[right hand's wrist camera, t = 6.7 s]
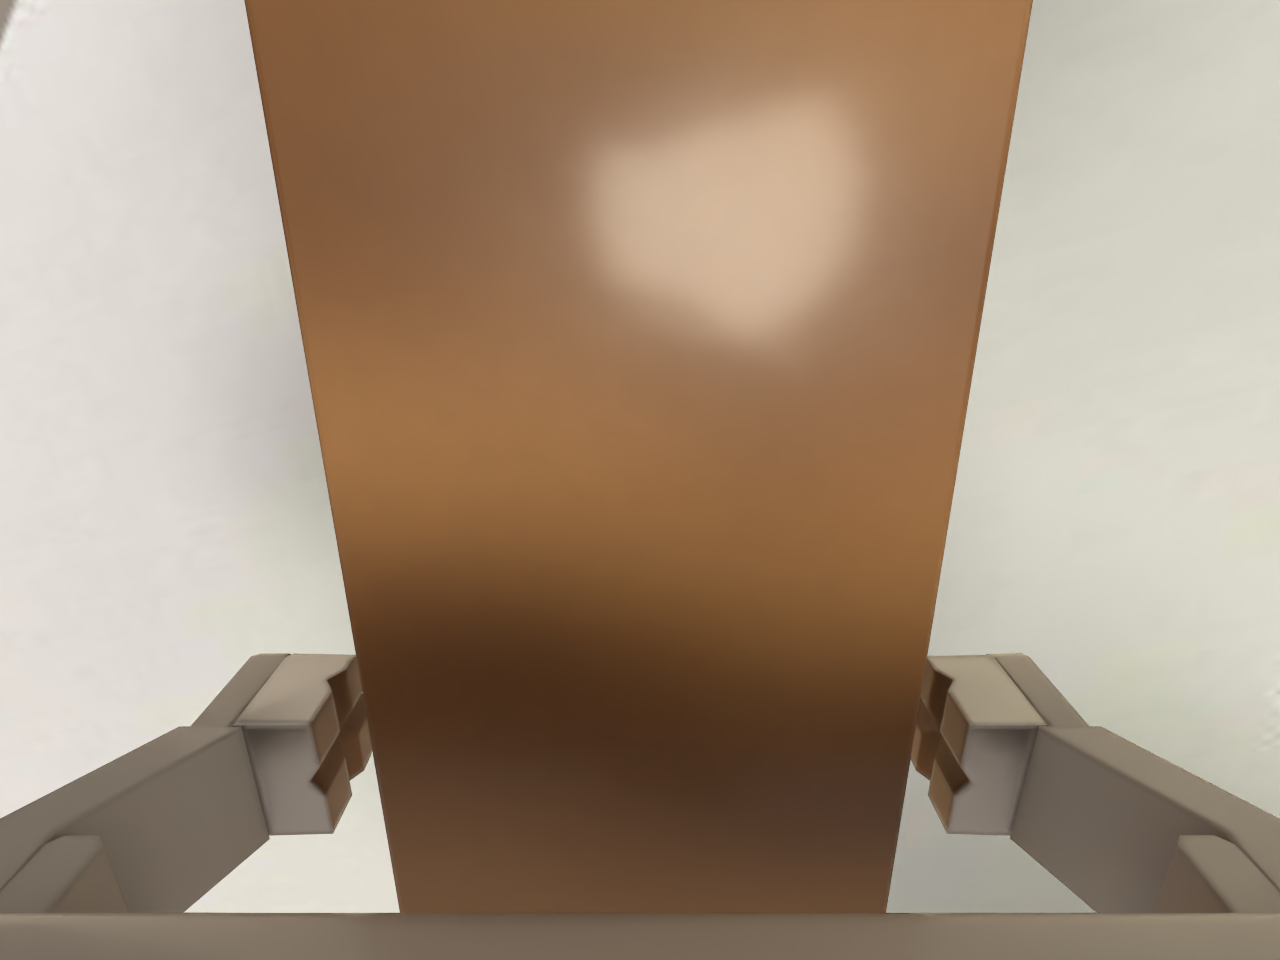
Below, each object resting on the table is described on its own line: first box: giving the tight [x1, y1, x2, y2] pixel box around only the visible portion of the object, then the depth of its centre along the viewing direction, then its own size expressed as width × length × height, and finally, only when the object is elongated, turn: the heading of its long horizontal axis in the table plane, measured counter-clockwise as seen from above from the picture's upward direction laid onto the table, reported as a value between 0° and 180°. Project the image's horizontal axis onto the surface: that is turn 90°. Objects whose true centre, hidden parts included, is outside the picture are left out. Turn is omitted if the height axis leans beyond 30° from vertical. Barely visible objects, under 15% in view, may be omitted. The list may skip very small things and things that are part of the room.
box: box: [245, 0, 1033, 913], centre depth 12 cm, size 21×6×12 cm, turn 0°
